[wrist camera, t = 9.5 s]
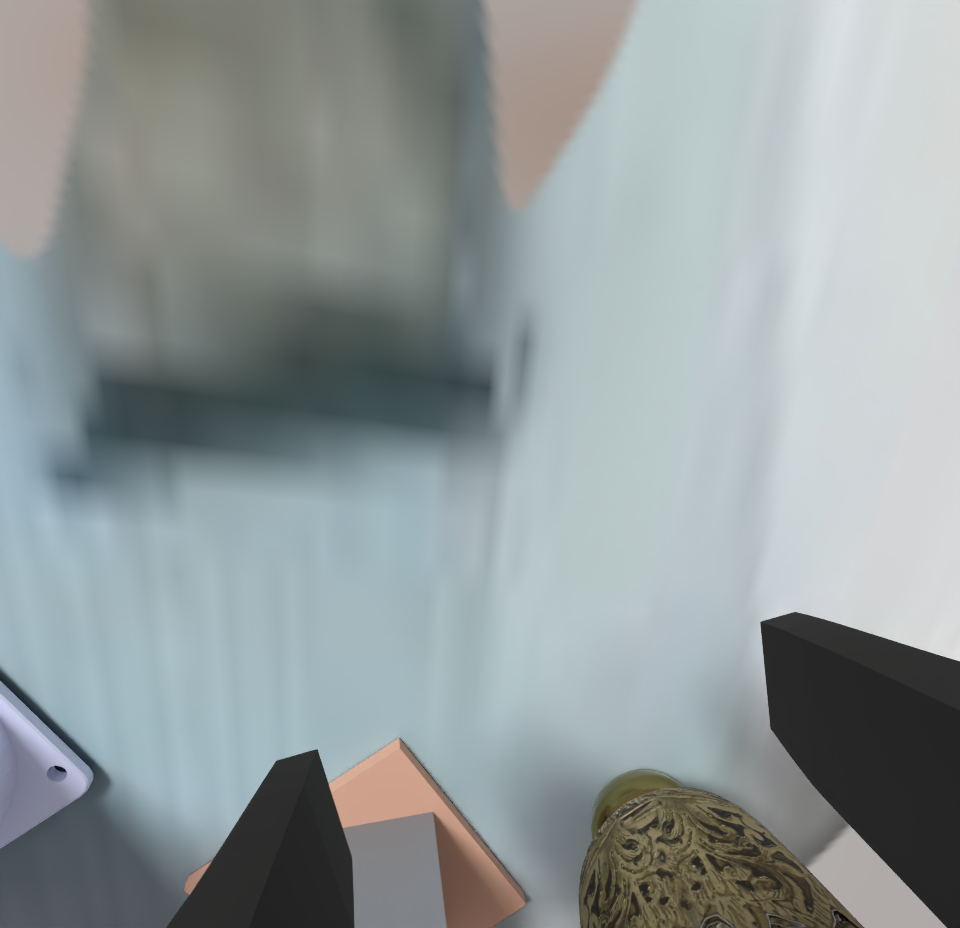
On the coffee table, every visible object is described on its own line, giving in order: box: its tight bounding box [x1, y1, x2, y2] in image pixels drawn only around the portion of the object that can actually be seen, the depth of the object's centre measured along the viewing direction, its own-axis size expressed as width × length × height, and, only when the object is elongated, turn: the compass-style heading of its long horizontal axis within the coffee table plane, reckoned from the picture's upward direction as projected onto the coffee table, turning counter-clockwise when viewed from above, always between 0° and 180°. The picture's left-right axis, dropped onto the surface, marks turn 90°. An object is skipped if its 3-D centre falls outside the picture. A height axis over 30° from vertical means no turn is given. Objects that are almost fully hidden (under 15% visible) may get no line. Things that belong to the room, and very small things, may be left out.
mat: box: [184, 738, 526, 928], centre depth 20 cm, size 8×8×1 cm
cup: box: [579, 769, 864, 928], centre depth 18 cm, size 8×7×8 cm
